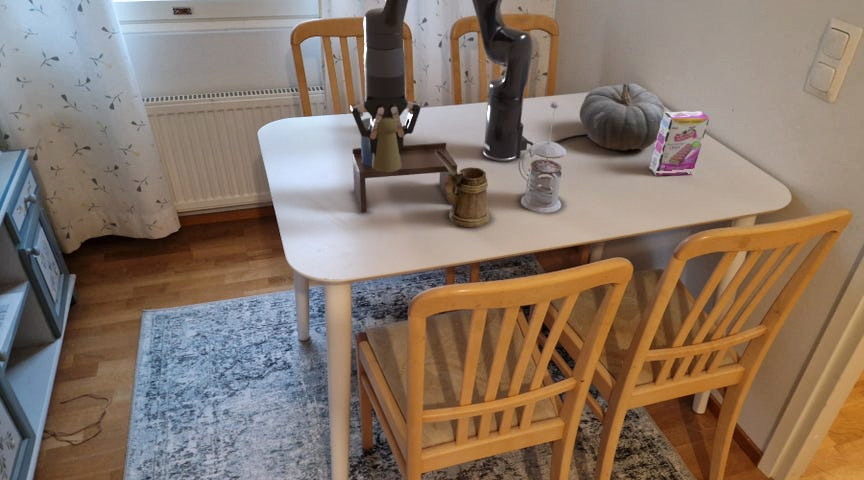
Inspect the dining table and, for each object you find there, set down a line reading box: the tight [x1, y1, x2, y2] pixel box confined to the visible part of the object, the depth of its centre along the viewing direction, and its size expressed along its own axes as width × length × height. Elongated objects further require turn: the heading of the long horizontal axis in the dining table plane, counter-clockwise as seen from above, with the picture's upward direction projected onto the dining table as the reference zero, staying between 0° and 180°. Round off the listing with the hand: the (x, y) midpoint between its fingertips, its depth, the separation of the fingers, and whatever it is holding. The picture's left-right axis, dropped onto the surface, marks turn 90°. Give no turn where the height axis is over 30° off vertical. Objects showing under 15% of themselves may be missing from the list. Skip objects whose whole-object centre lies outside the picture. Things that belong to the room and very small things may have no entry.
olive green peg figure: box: [372, 117, 402, 172], centre depth 127 cm, size 6×6×11 cm
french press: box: [518, 101, 567, 214], centre depth 146 cm, size 10×12×25 cm
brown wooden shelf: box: [351, 142, 458, 214], centre depth 146 cm, size 22×10×11 cm, turn 108°
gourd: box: [579, 82, 665, 151], centre depth 183 cm, size 25×25×17 cm
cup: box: [360, 117, 373, 167], centre depth 139 cm, size 6×8×9 cm
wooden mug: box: [436, 150, 490, 228], centre depth 138 cm, size 9×14×18 cm, turn 120°
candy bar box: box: [648, 110, 710, 177], centre depth 168 cm, size 11×5×16 cm, turn 104°
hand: (386, 153), depth 129 cm, fingers closed on olive green peg figure, 4 cm apart
